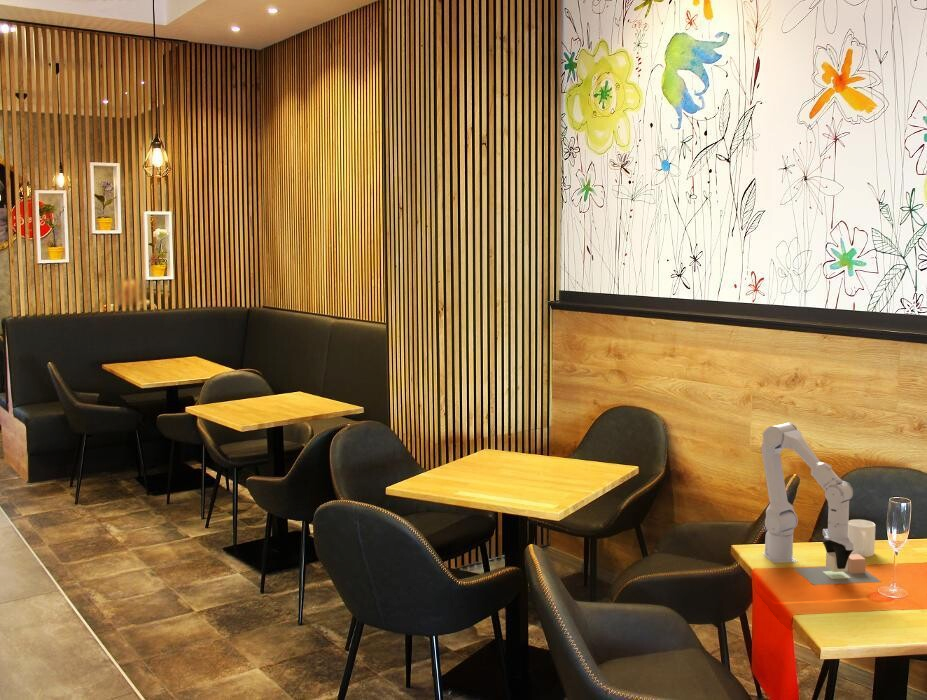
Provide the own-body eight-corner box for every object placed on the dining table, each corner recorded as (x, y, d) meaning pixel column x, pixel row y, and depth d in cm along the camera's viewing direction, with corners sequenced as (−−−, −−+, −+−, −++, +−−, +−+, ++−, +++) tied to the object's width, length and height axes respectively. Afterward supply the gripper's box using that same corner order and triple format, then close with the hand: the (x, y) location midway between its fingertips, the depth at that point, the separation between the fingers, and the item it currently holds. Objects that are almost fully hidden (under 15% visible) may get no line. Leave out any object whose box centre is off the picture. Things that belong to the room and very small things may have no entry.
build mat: (793, 569, 289) (793, 567, 289) (858, 566, 291) (858, 564, 291) (813, 586, 275) (813, 584, 275) (881, 583, 277) (881, 581, 277)
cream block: (825, 566, 285) (826, 552, 284) (839, 566, 285) (840, 551, 285) (833, 572, 280) (833, 557, 280) (847, 571, 281) (847, 556, 280)
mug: (878, 563, 294) (879, 531, 293) (850, 561, 296) (851, 529, 295) (872, 550, 305) (873, 520, 304) (845, 548, 307) (846, 518, 306)
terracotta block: (843, 568, 288) (844, 554, 287) (857, 567, 288) (858, 553, 288) (851, 573, 284) (851, 559, 283) (865, 573, 284) (865, 558, 283)
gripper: (813, 515, 288) (812, 558, 289) (838, 530, 273) (836, 574, 275) (835, 514, 288) (834, 556, 290) (860, 528, 274) (859, 573, 276)
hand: (836, 565), depth 283 cm, fingers closed on cream block, 4 cm apart
